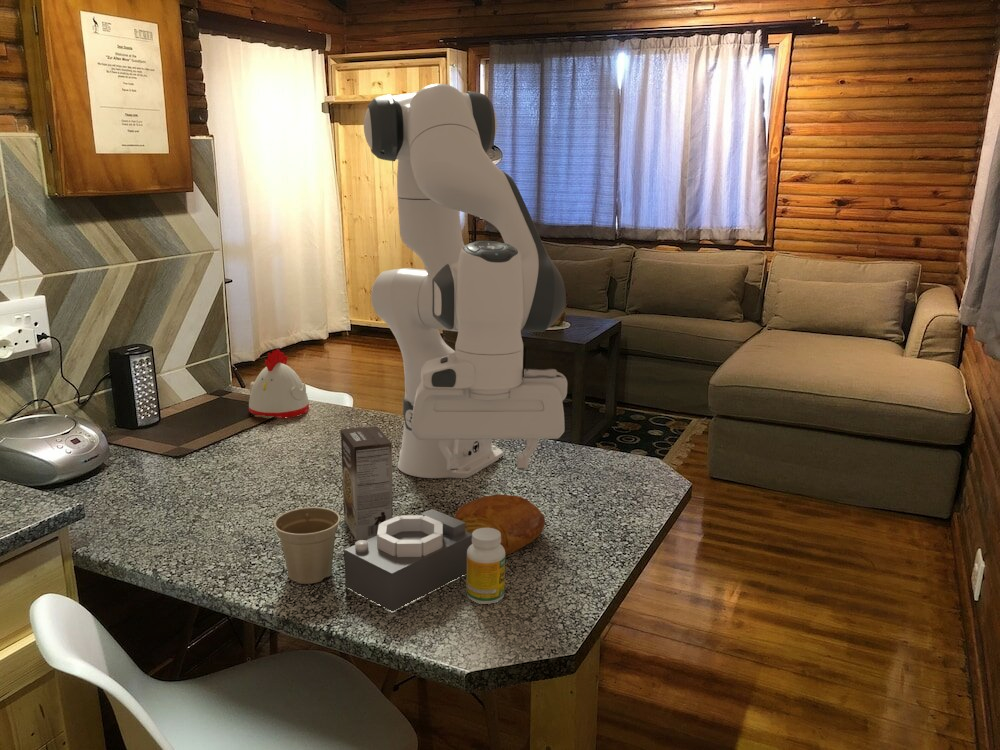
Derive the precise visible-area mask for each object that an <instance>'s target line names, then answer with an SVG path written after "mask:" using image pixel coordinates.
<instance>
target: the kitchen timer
mask: <svg viewBox="0 0 1000 750" xmlns="http://www.w3.org/2000/svg"><path fill="white" fill-rule="evenodd" d="M287 361H288V356H287V355H285V353H284V352H281V349H279V348H278V349H275V350H272V351H271V352H268V353H267V359H264V363H265V367H264V368H263V369H262V370H261V371H260V372H259V374H258V375H257V377H256V378H255V381H251V382H250V384H249V393H250V395H249V400H248V412H249V411H250V412H251V413H253V414H256V415H265V416H274V417H279V418H285V417H293V416H297V415H300V414H303V413H305V414H306V413H308V412H309V409H310V404H309V403H310V402H309V397H308V393H307V388H306V386H307V385H306V383H305V382H304V383H303V382H302V380H301V378H300V377H299V375H298V374H297V372H296V371H295V370H294V369H293V368H292V367H290V366H289V365H287ZM307 411H308V412H307ZM303 415H304V414H303ZM300 416H301V415H300ZM297 417H298V416H297ZM293 418H294V417H293Z"/></svg>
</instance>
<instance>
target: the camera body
mask: <svg viewBox="0 0 1000 750" xmlns="http://www.w3.org/2000/svg"><path fill="white" fill-rule="evenodd" d="M471 544H472V533H470V532H467V531H465V522H463V521H460V520H458V519H455V518H454V516H451V515H448V514H445V513H443V512H440V511H438V510H436V509H433V508H431V509H429V510H426V511H423V512H421V513H420V514H415V515H414V514H413V515H412V514H409V515H408V514H407V515H406V514H405V515H402V514H401V515H399V516H398V515H397V516H394V517H392V518H391V519H389V520H387V521H384V522H382V523H380V524H379V527H378V532H377V536H375V537H372V538H370V539H365V540H358V541H355V542H354V545H352V546H349V547H347V548H344V549H343V552H344V553H343V554H344V555H343V556H344V583H345V585H344V586H345V587H347V588H350V589H352V590H353V591H355V592H357V593H358V594H361V595H362V596H364V597H366V598H368V599H370V600H372V601H374V602H376V603H377V604H380V605H381V606H383V607H385V608H387V609H389V610H391V611H394V610H396V609H398V608H400V607H401V606H404V605H405V604H407V603H410V602H411V601H413V600H415V599H417V598H419V597H421V596H424V595H425V594H428V593H429V592H431V591H433V590H435V589H437V588H438V587H441V586H443V585H445V584H446V583H448V582H450V581H452V580H454V579H457V578H458V577H461V576H462V575H465V574H467V550H468V548H469V546H470V545H471ZM465 576H466V575H465Z"/></svg>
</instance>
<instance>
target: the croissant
mask: <svg viewBox="0 0 1000 750" xmlns="http://www.w3.org/2000/svg"><path fill="white" fill-rule="evenodd" d="M453 518H455V519H458V520H460V521H463V522H465V531H467V532H470V533H473V531H474V530H476V529H479V528H494V529H496V530H498V531H500V533H501V543H500V544H501V545H502V546H503V548H504V549H505V556H508V555H511V554H512V553H515V552H516V551H518V550H521V549H522V548H524V547H526V546H527V545H528V544H531V543H532V542H533V541H535V540H536V539H537V538H538V537H539V536H540V535H541V533H542V532H543V530H544V528H545V525H546V518H545V515H544V514H543V513H542V512H541V510H540V509H539V508H538V507H537V506H536V505H534V504H533V503H532V502H531V501H530V500H528V499H527V498H524V497H522V496H517V495H511V494H493V495H484V496H482V497H478V498H476V499H473V500H470V501H468V502H466V503H464V504H463V505H461V506H460V507H459V508H458V509H456V511H455V514H454V516H453Z"/></svg>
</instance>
